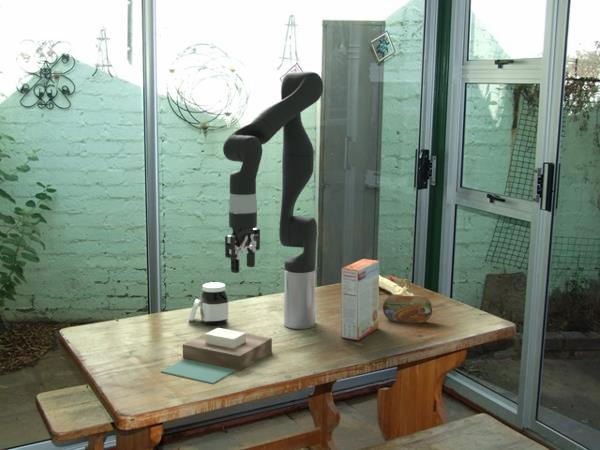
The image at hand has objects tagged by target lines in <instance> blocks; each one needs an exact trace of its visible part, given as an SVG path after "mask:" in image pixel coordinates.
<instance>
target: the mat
mask: <svg viewBox="0 0 600 450" xmlns="http://www.w3.org/2000/svg"><path fill="white" fill-rule="evenodd" d="M236 371H237V370H234V369H230V368H225V367H220V366H216V365H211V364H206V363H201V362H197V361H192V360H187V359H182V360H179V361H178V362H176V363H174V364H172V365H170V366H168V367H165V368H163V369H162V370H160V372H161V373H164V374H169V375H173V376H177V377H180V378H185V379H190V380H194V381H198V382H204V383H208V384H212V385H214V384H215V383H217V382H219V381H221V380H222V379H225V378H226V377H228V376H229V375H231V374H232V373H235V372H236Z"/></svg>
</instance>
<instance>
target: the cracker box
mask: <svg viewBox="0 0 600 450" xmlns="http://www.w3.org/2000/svg"><path fill="white" fill-rule="evenodd" d="M340 272H341V273H340V274H341V277H340V278H341V280H340V283H341V286H340V287H341V288H340V289H341V291H340V294H341V296H340V297H341V299H340V301H341V302H340V305H341V312H340V314H341V315H340V316H341V318H340V319H341V322H340V325H341V329H340V330H341V331H340V335H341V336H340V337H341V339H346V340H347V339H348V340H354V341H360V340H361V339H363V338H364V337H366V336H368V335H369V334H370V333H372V332H374V331H375V330H377V329H379V311H380V310H379V307H380V305H379V304H380V303H379V301H380V300H379V299H380V297H379V295H380V287H379V275H380V261H379V260H375V259H367V258H362V259H360V260H358V261H355V262H353V263H351V264H348V265H346V266H344V267H342V268H341V271H340Z"/></svg>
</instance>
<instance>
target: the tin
mask: <svg viewBox="0 0 600 450" xmlns="http://www.w3.org/2000/svg"><path fill="white" fill-rule="evenodd" d="M382 311H383V314H384V316H385V317H386V318H387V319H388V320H389V321H392V322H394V323H395V322H397V323H410V324H411V323H412V324H423V323H425V322H427V321H429V319H430V318H431V317H432V313H433V306H432V303H431V301H430V300H429V299H428V298H427V297H426V296H424V295H420V294H419V295H417V294H414V295H401V294H391V295H389V296H388V297H387V298H386V299H385V300H384V301H383V304H382Z"/></svg>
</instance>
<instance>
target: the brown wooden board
mask: <svg viewBox="0 0 600 450" xmlns="http://www.w3.org/2000/svg"><path fill="white" fill-rule="evenodd" d="M208 332H209V331H207V332H205V333H203V334H201V335H200V336H198V337H195V338H193V339H191V340H188V341H187V342H185V343H183V344H182V360H184V359H187V360H192V361H197V362H201V363H206V364H211V365H216V366H220V367H225V368H230V369H234V370H236V371H238V372H239V371H240V372H241V371H243V370H244V369H246V368H248V367H249V366H251V365H252V364H255V363H256V362H258V361H260V360H261V359H263V358H265V357H266V356H269V355H270V354H271V353H273V338H272V337H267V336H261V335H256V334H251V333H246V342H245V343H243V344H241V345H239V346H237V347H235V348H229V347H224V346H219V345H214V344H209V343H205V334H206V333H208Z"/></svg>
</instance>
